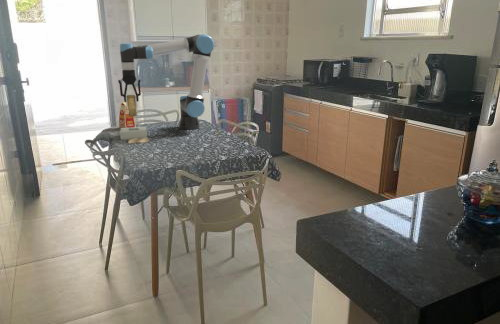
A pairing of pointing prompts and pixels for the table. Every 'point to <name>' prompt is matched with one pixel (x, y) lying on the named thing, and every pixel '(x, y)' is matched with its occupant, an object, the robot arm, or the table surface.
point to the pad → (138, 140)
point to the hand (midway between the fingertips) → (132, 106)
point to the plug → (131, 105)
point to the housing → (133, 133)
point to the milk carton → (125, 117)
